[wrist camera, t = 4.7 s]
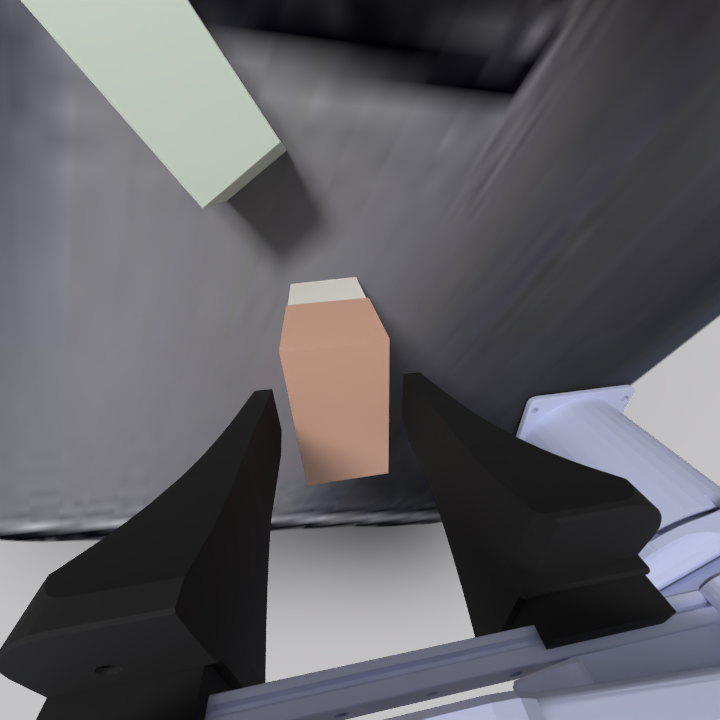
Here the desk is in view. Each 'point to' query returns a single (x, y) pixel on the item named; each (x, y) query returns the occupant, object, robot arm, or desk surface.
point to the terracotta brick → (338, 387)
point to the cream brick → (325, 291)
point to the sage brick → (168, 88)
